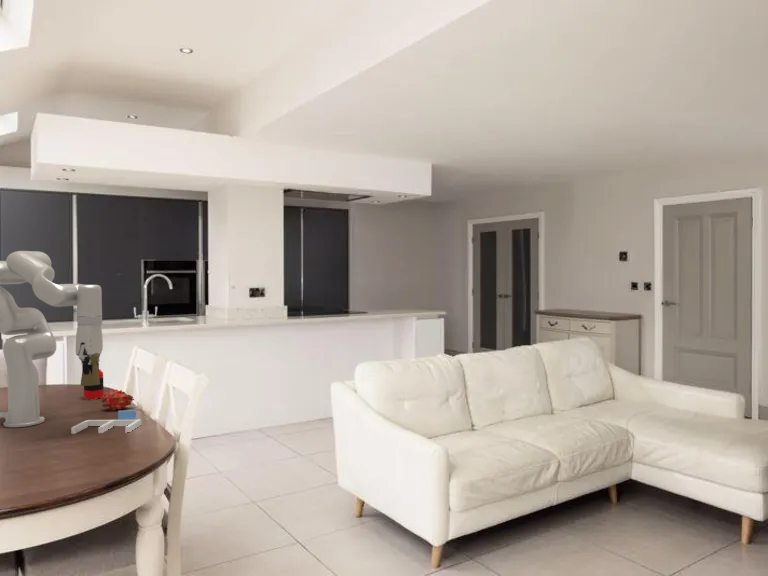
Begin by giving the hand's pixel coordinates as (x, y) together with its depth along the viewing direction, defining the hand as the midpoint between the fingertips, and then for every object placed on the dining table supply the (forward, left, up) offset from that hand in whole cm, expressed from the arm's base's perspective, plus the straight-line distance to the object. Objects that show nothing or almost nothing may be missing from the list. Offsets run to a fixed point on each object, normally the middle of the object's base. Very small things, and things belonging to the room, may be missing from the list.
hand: (90, 374), depth 204 cm
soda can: (-25, +53, -19) cm, 62 cm away
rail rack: (+5, +1, -19) cm, 19 cm away
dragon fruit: (-5, +31, -19) cm, 37 cm away
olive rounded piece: (0, -1, -3) cm, 4 cm away
